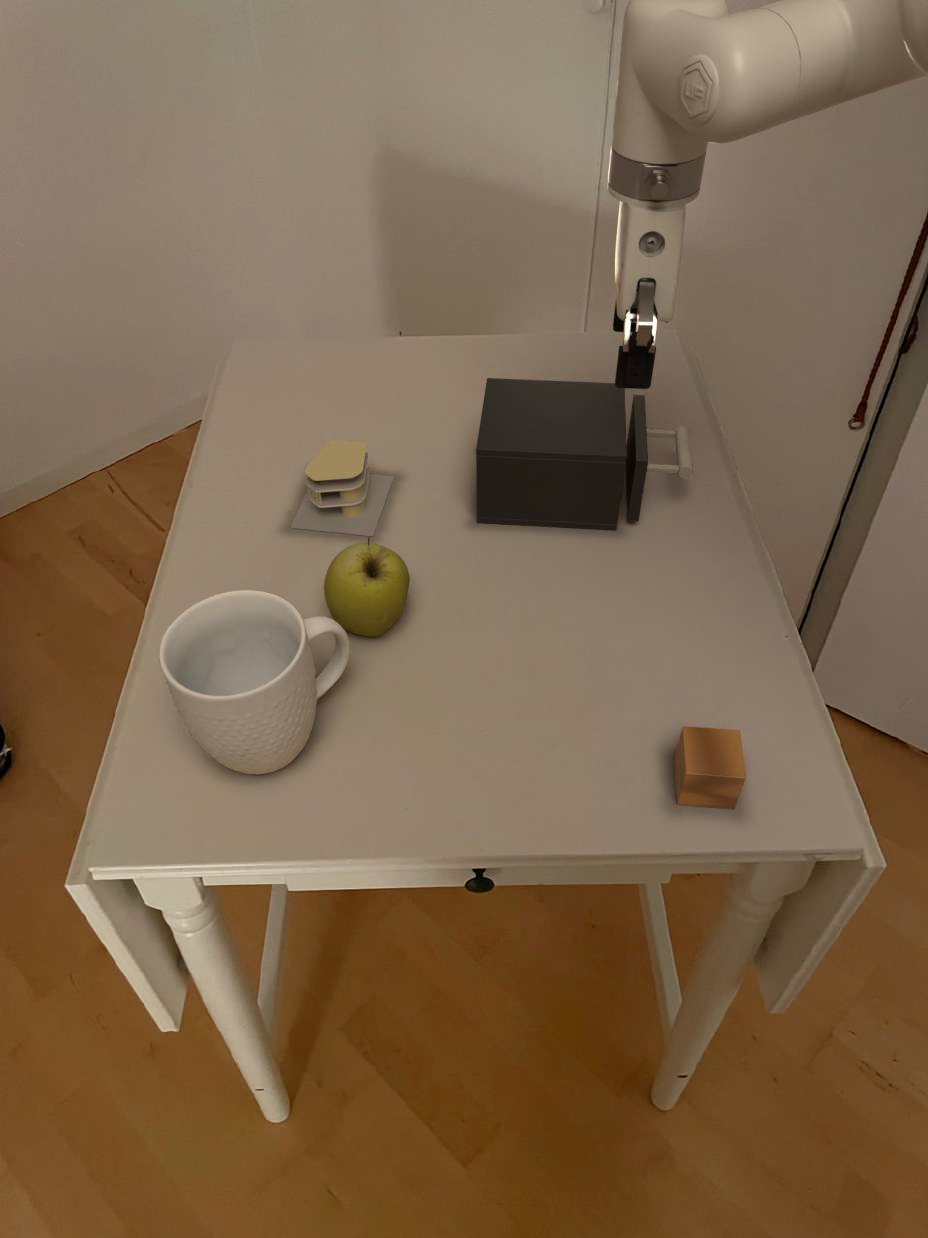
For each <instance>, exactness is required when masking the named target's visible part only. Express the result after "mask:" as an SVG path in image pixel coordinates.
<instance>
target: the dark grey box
mask: <svg viewBox="0 0 928 1238" xmlns="http://www.w3.org/2000/svg"><path fill="white" fill-rule="evenodd" d="M626 418H627V416H626V388H617V387H616V386H615V382H596V381H594V382H593V381H573V380H572V381H570V380H549V379H548V380H547V379H545V380H544V379H524V378H520V379H519V378H500V377H499V378H497V377H487V378H486V382H485V389H484V395H483V402H482V408H481V415H480V422H479V427H478V435H477V441H476V448H475V455H476V456H475V469H476V472H475V473H476V475H475V476H476V477H475V480H476V481H475V482H476V523H477V524H486V525H487V524H488V525H489V524H490V525H491V524H492V525H507V526H527V527H543V528H544V527H546V528H563V529H581V530H582V529H583V530H597V531H598V530H599V531H600V530H601V531H617V530H618V523H619V514H620V506H621V502H622V501H621V500H622V493H623V485H624V479H625V478H624V477H625V473H626V458H627V449H626V445H627V420H626Z"/></svg>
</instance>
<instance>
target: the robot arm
mask: <svg viewBox="0 0 928 1238" xmlns="http://www.w3.org/2000/svg"><path fill="white" fill-rule="evenodd" d="M621 30H622V32H621V42H620V51H619V64H618V71H617V72H618V73H617V83H616V84H617V85H616V94H615V102H614V103H615V104H614V106H615V107H614V113H613V123H612V124H613V125H612V135H611V145H610V154H609V165H608V174H607V183H606V184H607V185H606V189H607V192H608V193H609V195H610V196H611V197H613V198H614V199H615V200H617V201H619V208H618V217H617V228H616V239H615V253H614V254H615V255H614V256H615V257H614V285H615V286H614V287H615V304H614V310H613V311H614V313H613V319H612V320H613V321H612V330H613V332H616V333H622V345H618V353H617V361H616V368H615V376H614V377H615V378H614V383H615V386H616V387H617V388H625V389H631V390H632V389H633V390H634V389H635V390H648V389H650V388H651V386H652V380H653V372H654V367H655V360H656V355H657V347H656V341H657V327H658V320H659V322H665V323H666V324H668V323H670V322H671V321H672V320H673V319H674V314H675V308H676V307H675V306H676V299H677V298H676V297H677V290H678V282H679V276H680V268H681V262H682V255H683V254H682V252H683V245H684V244H683V243H684V235H685V226H686V225H685V224H686V211H687V204H689V203H691V202H693V201H694V200H697V198H698V196H700V191H701V184H702V179H703V173H704V167H705V161H706V155H707V149H708V145H709V144H708V143H710V144H718V145H719V144H728V143H733V142H736V141H739V140H742V139H745V138H747V137H750V136H753V135H756V134H759V133H762V132H765V131H767V130H769V129H771V128H775V127H777V126H780V125H782V124H786V123H788V122H791V121H794V120H797V119H800V118H803V117H806V116H810V115H812V114H816V113H818V112H821V111H824V110H826V109H829V108H832V107H836V106H838V105H840V104H843V103H846V102H848V101H853V100H854V99H858V98H861V97H864V96H867V95H870V94H873V93H876V92H879V91H882V90H884V89H889V88H891V87H894V86H897V85H900V84H904V83H906V82H909V81H913V80H916V79H921V78H923V77H928V0H779V1H775V2H772V3H769V4H765V5H762V6H758V7H754V8H752V9H747V10H743V11H737V12H736V11H735V12H733V13H732V12H731V13H729V7H728V3H727V0H629V1H628V3H627V5H626V6H625V11H624V16H623V23H622V29H621Z"/></svg>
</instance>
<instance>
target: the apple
mask: <svg viewBox="0 0 928 1238" xmlns="http://www.w3.org/2000/svg"><path fill="white" fill-rule="evenodd" d="M410 577H411V576H410V572H409V568H408V567H407V564H406V563H405V561H404V560H403V558H402V557H401V556H400V555H399V554H398V553H396V551H394V550H392V549H390V548H388V547H387V546H383V545H381V544H377V543H372V542H370V537H367V542H359V543H354V544H352V545H348V546H347V547H345V548H344V549H342V550H341V551H339V552H338V553H337V554H336V556H335V557H334V558H333V559H332V560H331V562H330V564H329V566H328V568H327V571H326V573H325V577H324V582H323V583H324V584H323V591H324V592H323V593H324V599H325V600H324V601H325V603H326V607H327V609H328V611H329V614H330V616H331V617H332V619H333V620H334V621H336V622H337V623H338V624H339V625H341V627H342V628H343V629H344V630H345V631H347V632H350V633H352V634H355V635H358V636H364V637H370V638H377V637H380V636H382V635H383V634H384V633H386V631H388V630H389V629H390V628H391V627H392V626H393V625H394V624H396V622H398V621H399V620H400V618H401V616H402V615H403V613H404V610H405V607H406V605H407V602H408V601H407V600H408V596H409V588H410V581H411V580H410V579H411V578H410Z"/></svg>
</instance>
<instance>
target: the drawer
mask: <svg viewBox="0 0 928 1238" xmlns="http://www.w3.org/2000/svg"><path fill="white" fill-rule="evenodd" d="M630 408H631V409H630V415H629V416H630V417H629V422H628V423H629V424H628V432H627V436H626V449H627V458H626V465H625V494H626V496H625V498H626V520H627V521H628V522H639V521H640V516H641V515H640V514H641V509H642V503H643V497H644V491H645V485H646V477H647V473H660V474H678V476H679V477H680V478H681V479H685V480H687V479H689V478H691V477H692V476H693V475H694V472H695V471H694V462H693V452H692V445H691V444H692V443H691V437H690V436H691V435H690V429H689V428H688V427H687V426H685V425H681V426H678V427H677V428H676V429H674V430H671V429H670V430H669V429H652V428H651V429H650V428H647V411H646V395H645V394H633V395H632V402H631V407H630ZM648 438H661V439H663V438H664V439H665V438H666V439H674V441H675V452H676V463H677V465H674V464H656V463H655V464H653V463H649V446H648Z"/></svg>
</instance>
